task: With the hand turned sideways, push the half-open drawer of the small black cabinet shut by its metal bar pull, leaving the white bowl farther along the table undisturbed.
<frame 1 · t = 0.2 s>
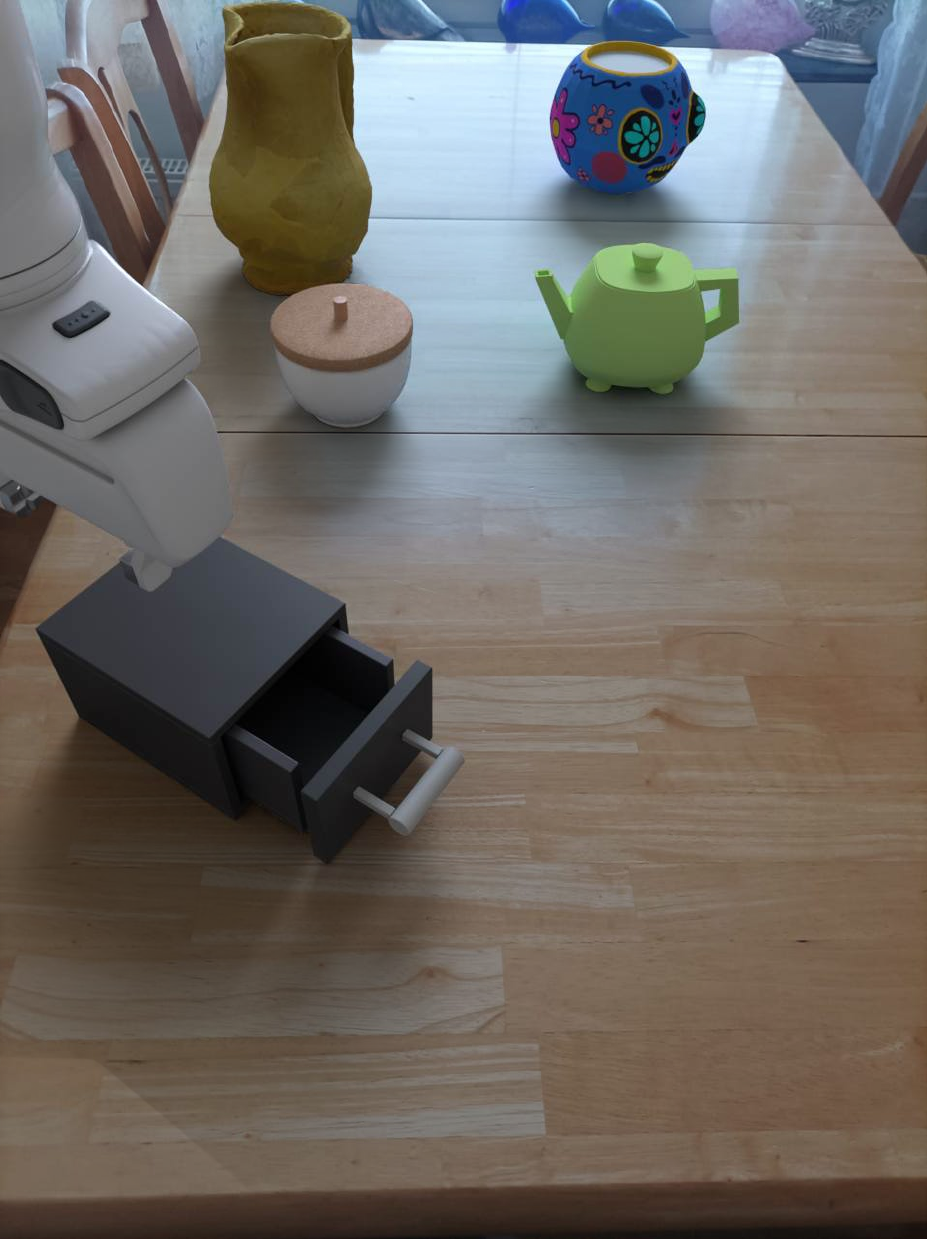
hand: (85, 541, 49), 20 cm above the table, tool pointing down, fingers open, 8 cm apart
cabinet: (219, 704, 66), on the table
ceramic pot: (611, 186, 122), on the table
pitcher: (306, 266, 107), on the table
teapot: (624, 368, 95), on the table
drawer: (322, 731, 59), point 5 cm above the table, slide at 6.0 cm
lidded bowl: (348, 406, 90), on the table
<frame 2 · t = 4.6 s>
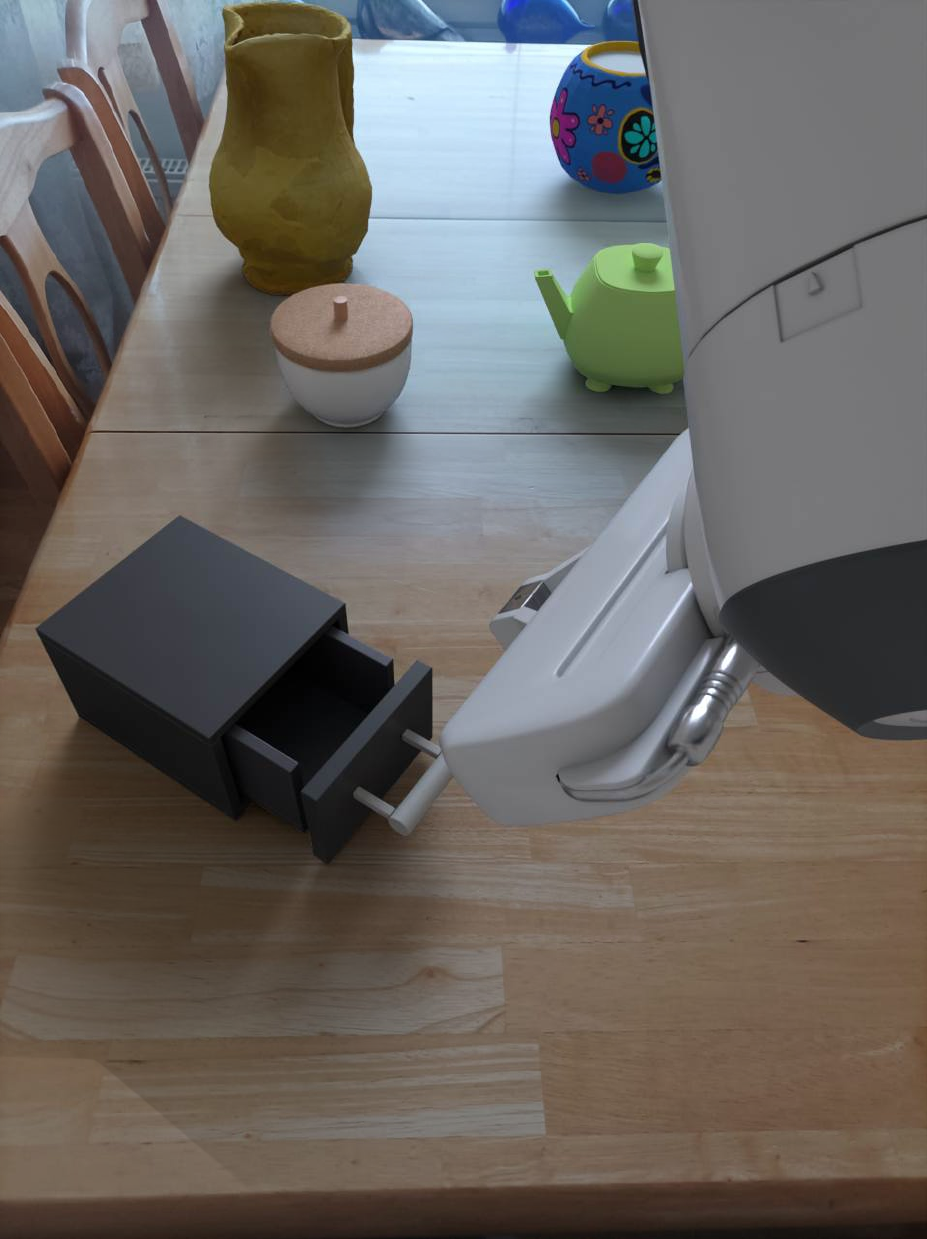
hand: (514, 617, 39), 25 cm above the table, tool tilted 45°, fingers closed
nothing on the table moved.
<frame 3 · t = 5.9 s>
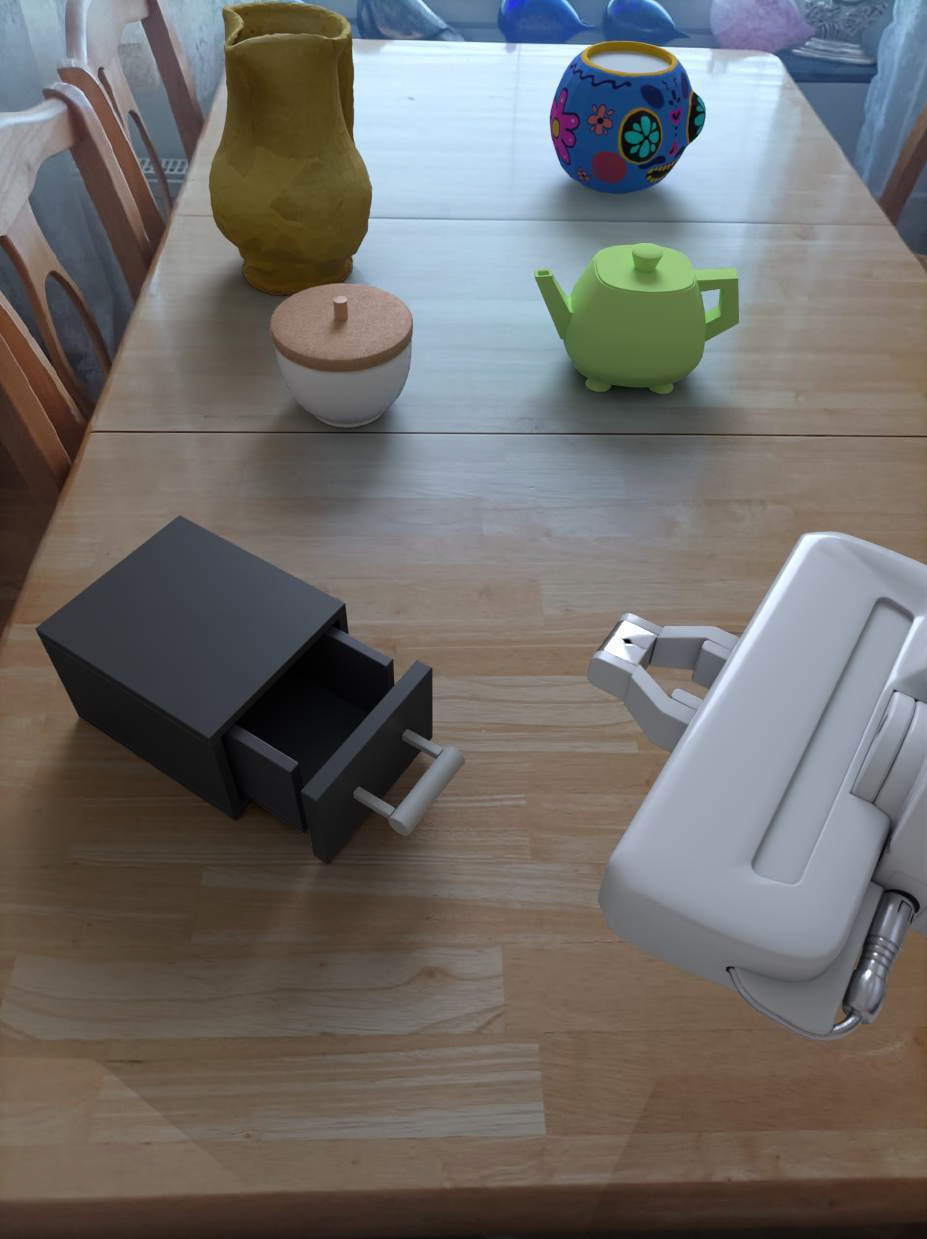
hand: (604, 645, 38), 25 cm above the table, tool horizontal, fingers closed
nothing on the table moved.
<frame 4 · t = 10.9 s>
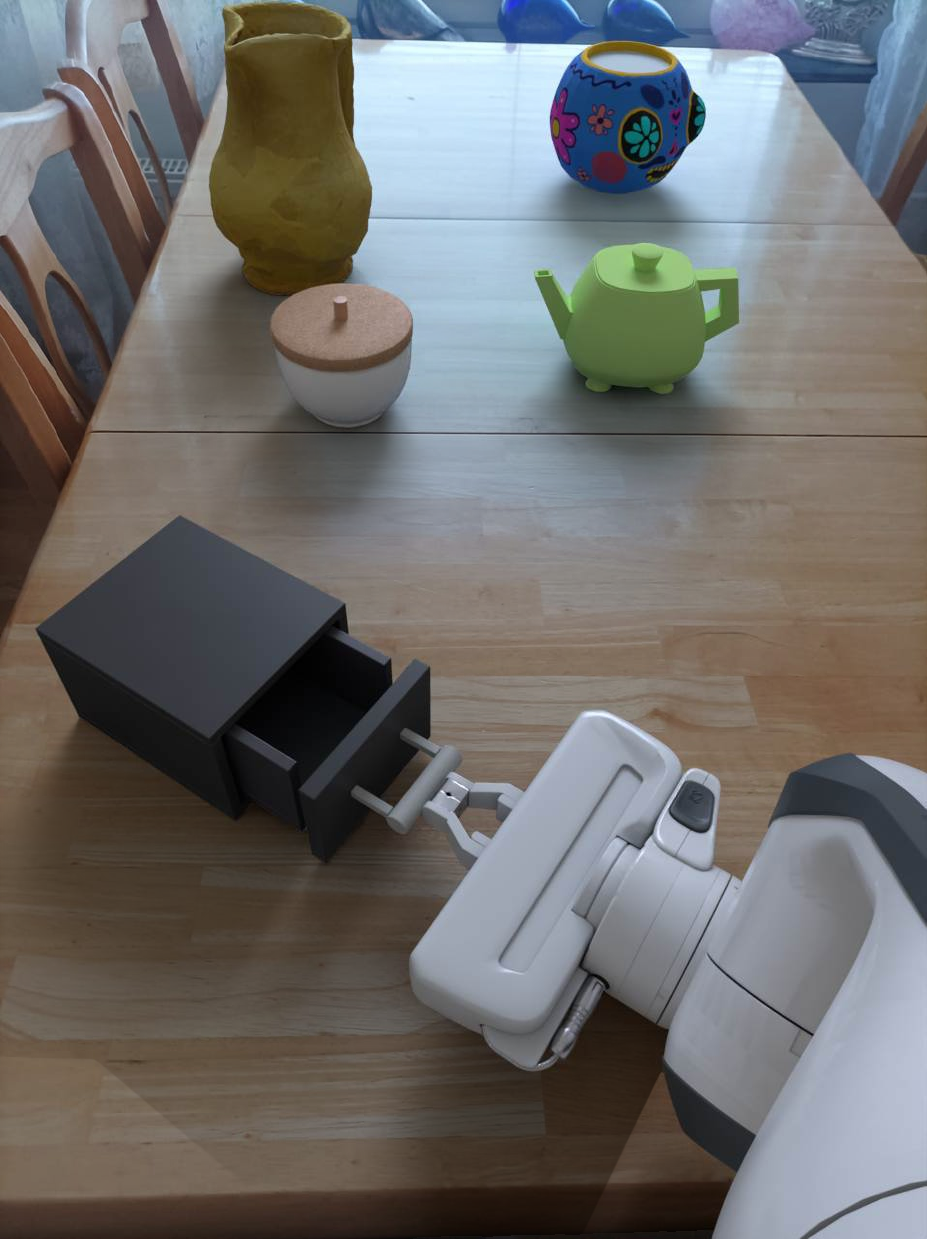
hand: (435, 794, 56), 5 cm above the table, tool horizontal, fingers closed, pressing on drawer
drawer: (320, 730, 59), point 5 cm above the table, slide at 5.8 cm, touching gripper
everything else where it was.
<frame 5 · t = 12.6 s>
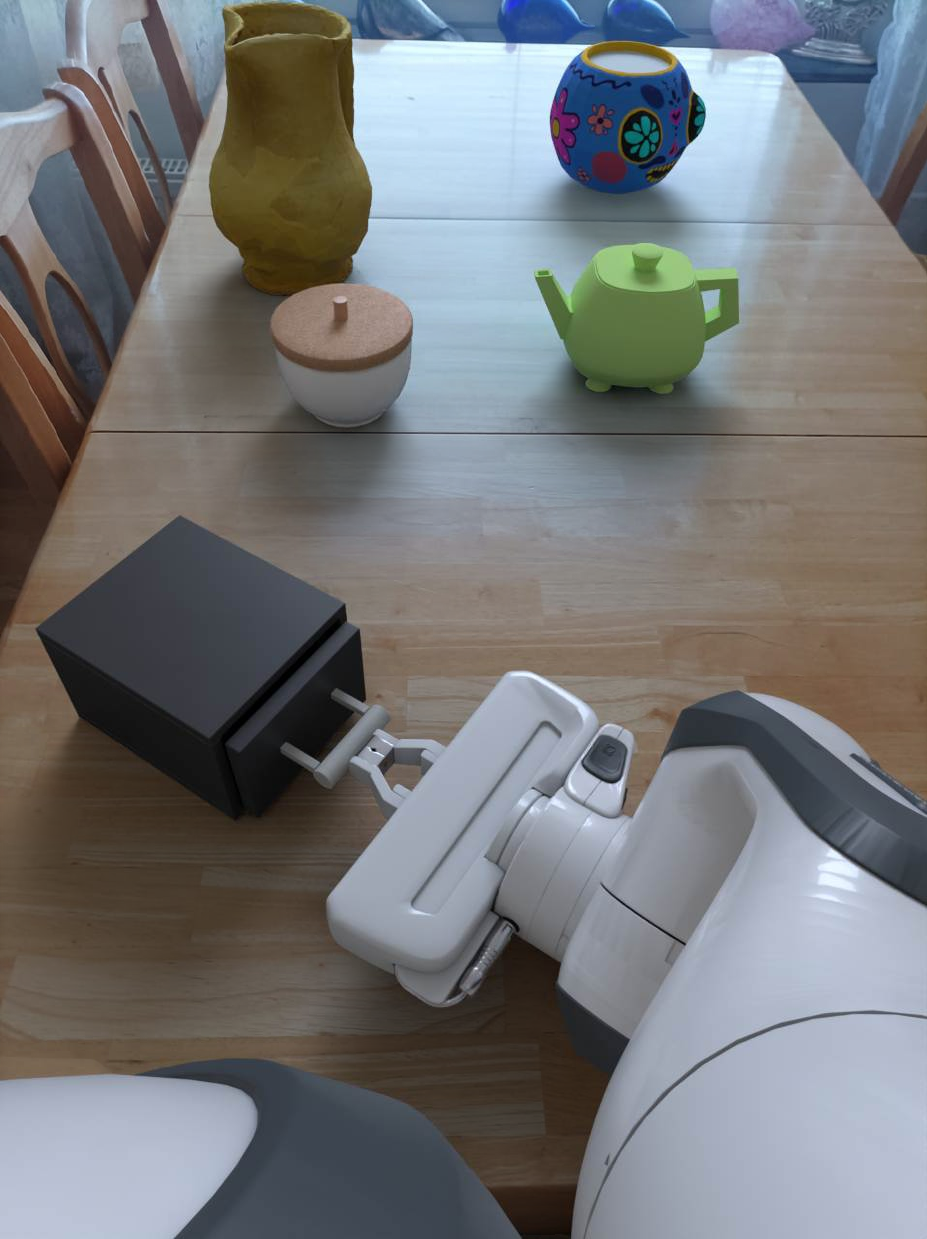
hand: (362, 750, 58), 5 cm above the table, tool horizontal, fingers closed, pressing on drawer
drawer: (254, 690, 61), point 5 cm above the table, slide at 0.4 cm, touching gripper
everything else where it was.
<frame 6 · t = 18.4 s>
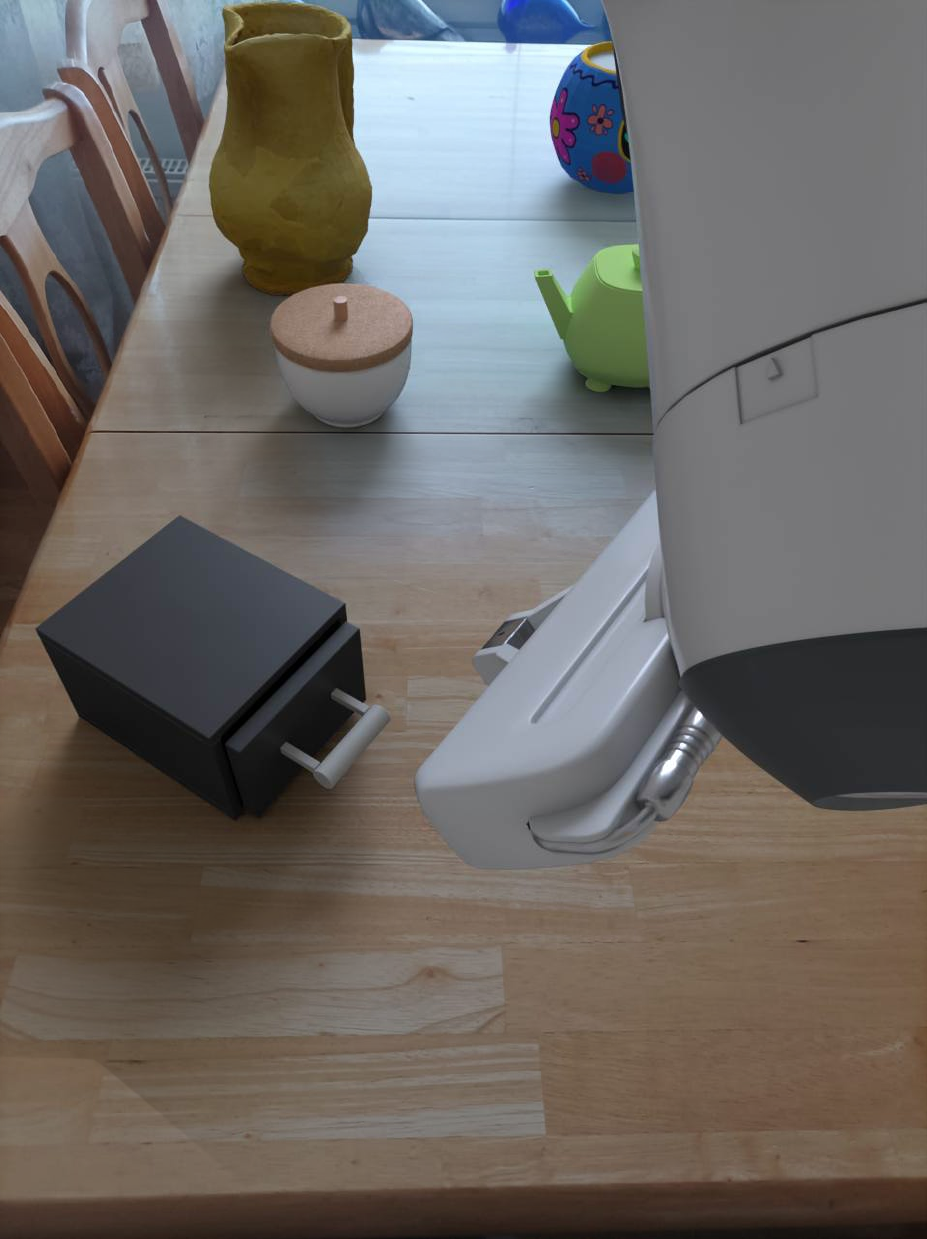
hand: (498, 653, 39), 24 cm above the table, tool tilted 45°, fingers closed
drawer: (254, 690, 61), point 5 cm above the table, slide at 0.4 cm
everything else where it was.
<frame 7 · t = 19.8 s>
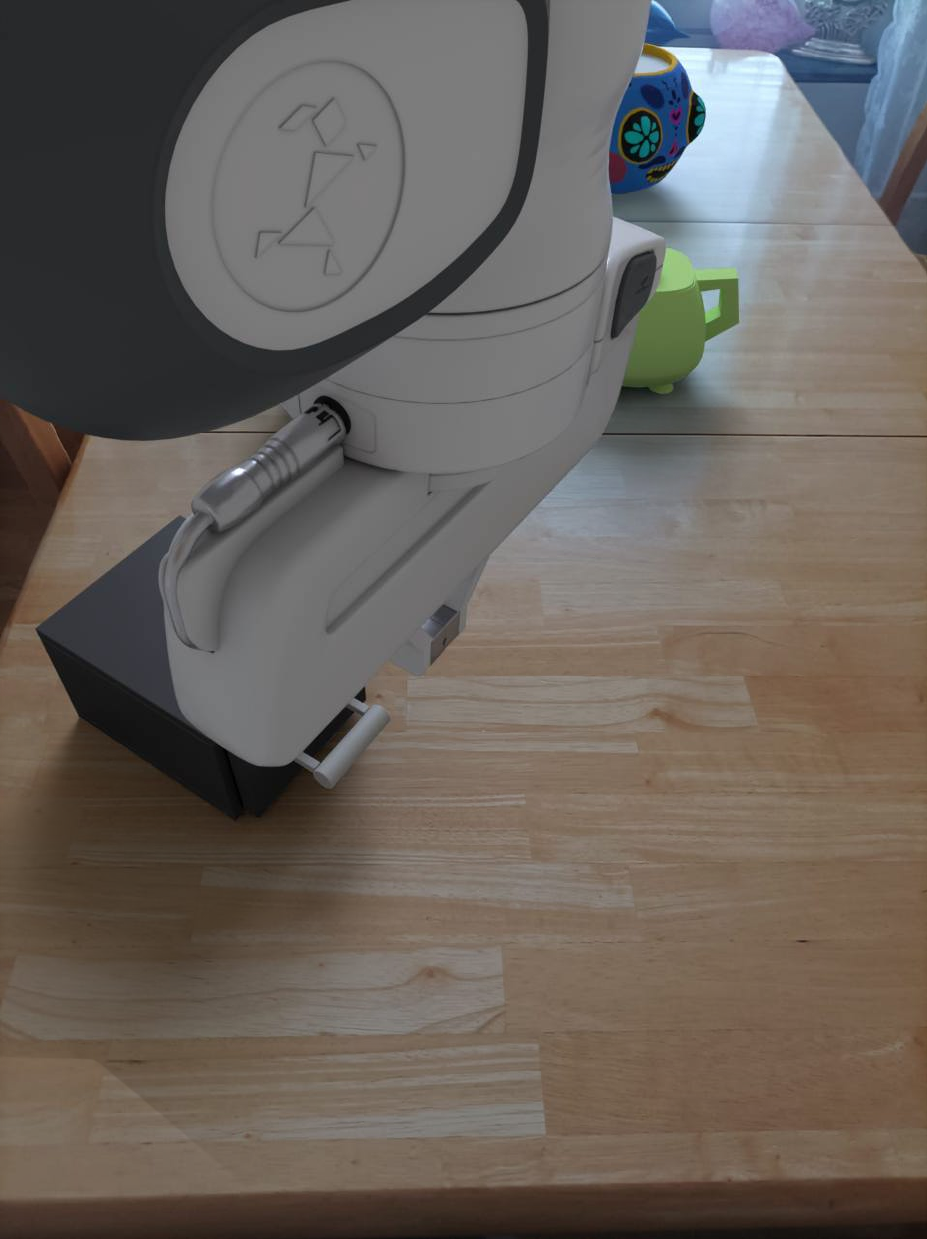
hand: (425, 646, 36), 27 cm above the table, tool pointing down, fingers closed
nothing on the table moved.
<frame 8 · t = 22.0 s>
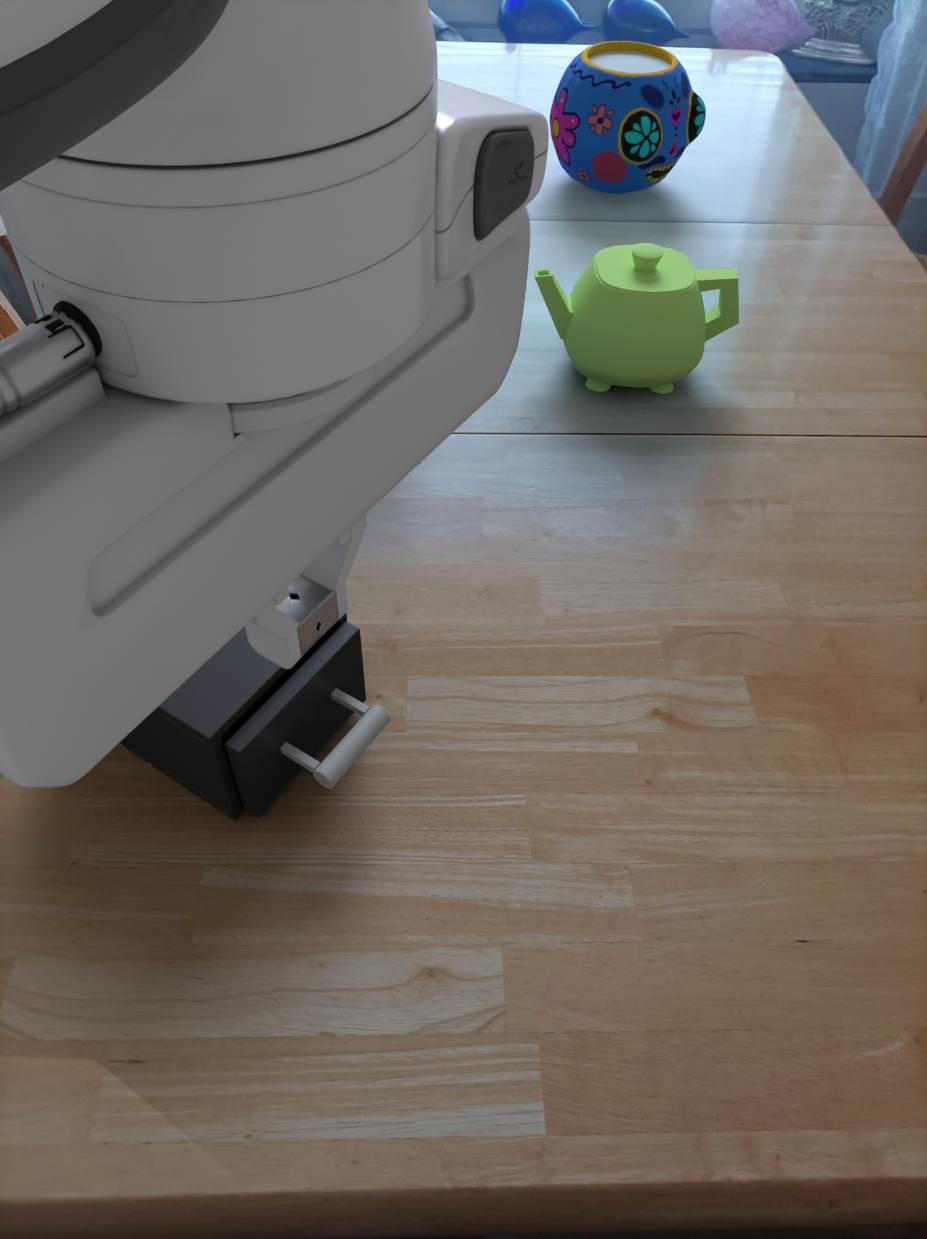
hand: (300, 632, 30), 31 cm above the table, tool pointing down, fingers closed
nothing on the table moved.
at the end: drawer slide at 0.4 cm; lidded bowl moved 0.2 cm from its start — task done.
